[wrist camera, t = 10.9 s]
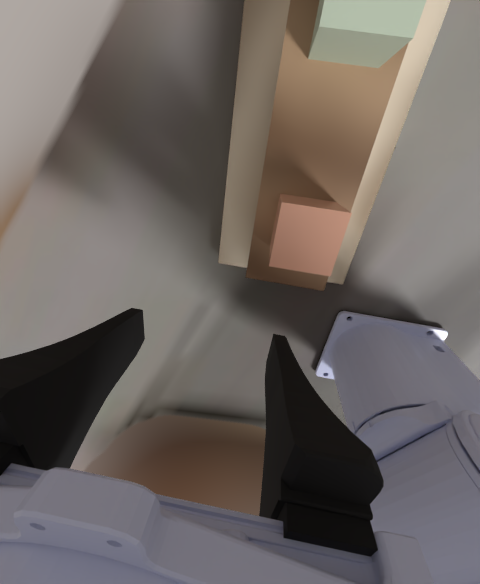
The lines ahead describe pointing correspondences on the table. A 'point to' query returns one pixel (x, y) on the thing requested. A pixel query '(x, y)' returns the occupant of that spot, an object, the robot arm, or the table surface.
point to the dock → (257, 117)
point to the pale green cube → (363, 30)
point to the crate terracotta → (307, 234)
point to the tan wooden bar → (316, 135)
